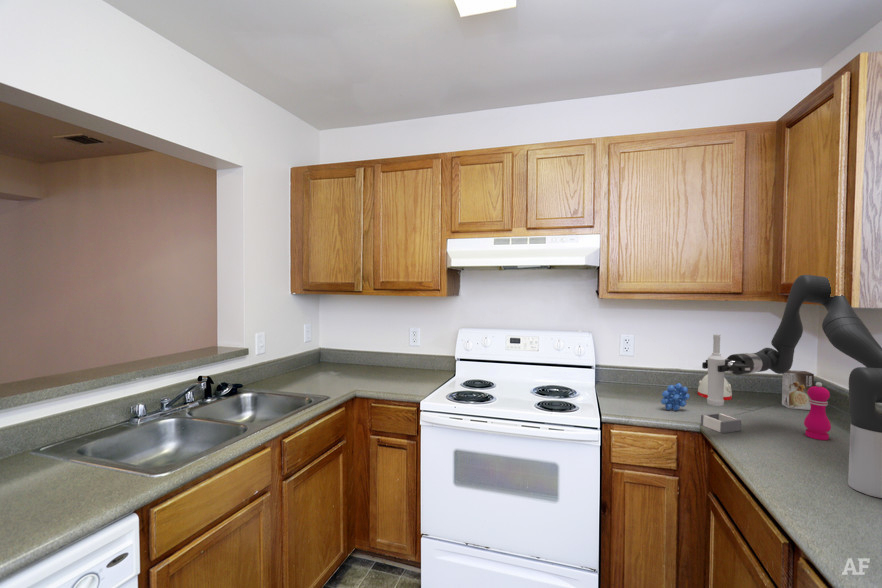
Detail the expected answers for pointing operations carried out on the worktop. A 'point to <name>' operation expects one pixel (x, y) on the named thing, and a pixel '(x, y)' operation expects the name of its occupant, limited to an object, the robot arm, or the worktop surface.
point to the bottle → (715, 375)
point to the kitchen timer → (704, 388)
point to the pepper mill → (817, 413)
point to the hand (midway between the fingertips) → (711, 367)
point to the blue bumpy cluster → (675, 397)
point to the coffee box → (796, 389)
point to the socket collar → (721, 422)
